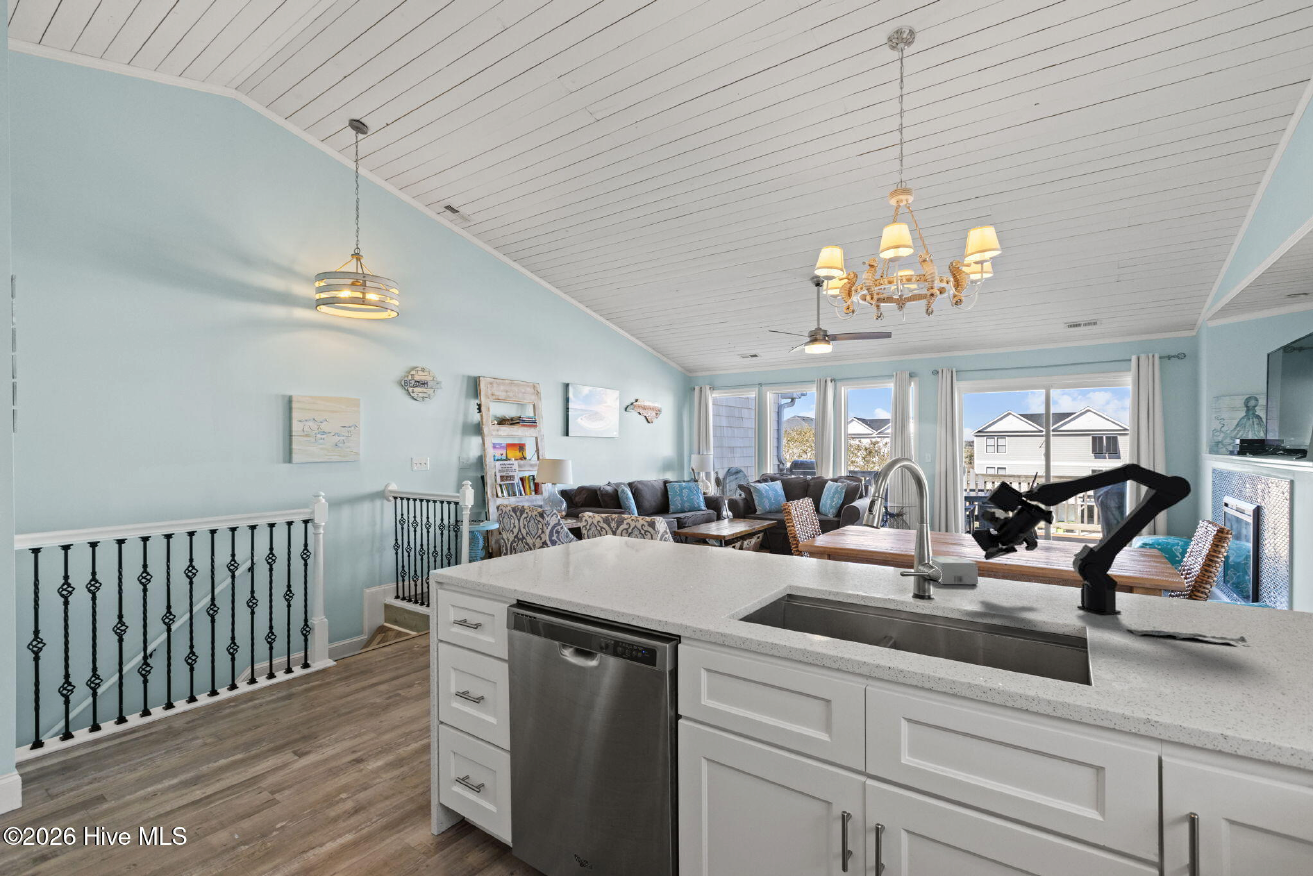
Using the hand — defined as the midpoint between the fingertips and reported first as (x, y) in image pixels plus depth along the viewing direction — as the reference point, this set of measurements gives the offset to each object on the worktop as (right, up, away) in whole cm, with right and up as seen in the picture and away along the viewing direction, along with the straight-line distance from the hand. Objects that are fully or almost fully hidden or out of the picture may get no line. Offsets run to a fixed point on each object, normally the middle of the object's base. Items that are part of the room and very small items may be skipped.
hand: (985, 558), depth 166 cm
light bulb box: (-3, -6, +9) cm, 11 cm away
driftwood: (+22, -10, -39) cm, 46 cm away
